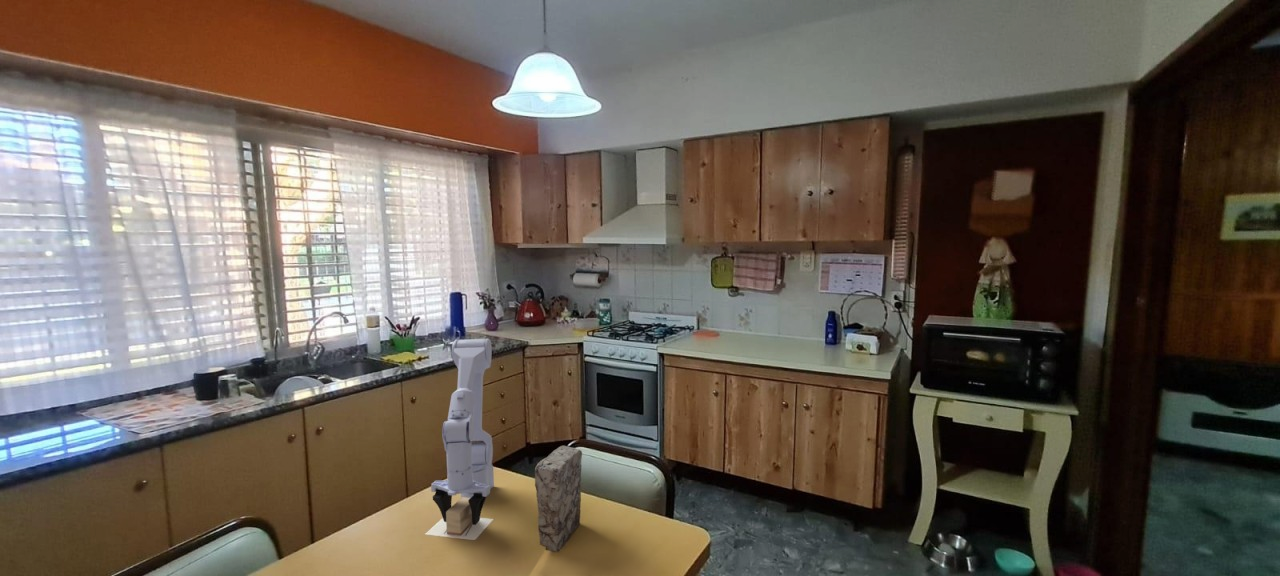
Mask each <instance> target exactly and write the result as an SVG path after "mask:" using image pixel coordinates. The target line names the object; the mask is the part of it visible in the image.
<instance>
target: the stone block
mask: <svg viewBox="0 0 1280 576" xmlns="http://www.w3.org/2000/svg"><path fill="white" fill-rule="evenodd" d="M582 457H583V452H582V450H581V449H579V448H576V447H571V446H567V445H560V446H559V447H557V448H556V449H554V450H553V451H552V452H551V453H549V454H548V456H547V457H545V458H543V459H541V460H540V461H539V462H537V465H536V466H535V469H534V476H535V477H534V487H535V491H536V492H535V493H536V501H537V502H536V503H537V508H538V509H537V510H538V518H537V520H538V521H537V522H538V533H539V545H541V546H545V547H546V548H545V550H546V551H550V552H554V553H557V552H560V551H561V550H562V549H563V547H564V546H565V545H566V544H567V543H568V541H569V540H570V538H571V537H572V535H573V534H574V533H575V531H576V530H577V529H578V528H579V526H581V522H580V521H581V520H580V519H581V505H582V503H581V501H582V498H581V497H582V495H581V494H582V492H581V490H582V483H581V482H582V459H583V458H582Z"/></svg>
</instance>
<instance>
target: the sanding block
mask: <svg viewBox="0 0 1280 576" xmlns="http://www.w3.org/2000/svg"><path fill="white" fill-rule="evenodd" d="M469 499H470V498H467V497H462V498H460V499H459V500H457V501H456V502H455V503H454V504H453V505H451V508H450V509H449V510H448V511H446V525H447V534H450V535H458V536H461V535H462V534H463V533H464V532H465V531H466V530H467V529H468V528H469V527H470V525H471V524H472V512H471V507H470V504H469V502H468V500H469Z"/></svg>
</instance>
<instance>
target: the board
mask: <svg viewBox="0 0 1280 576" xmlns="http://www.w3.org/2000/svg"><path fill="white" fill-rule="evenodd" d="M493 521H494V518H488V517H480V520H479V522H478V523H477V524H476V525H473V524H471V525H470V527H469V528H468V529H467V530H466V531H465V532H464V533H463V534H462V535H461V536H458V535H450V534H447V525H446V522H444V520H443V517H442V518H440V520H438V521H437V522H436V524H434V525H433V526H432V527H431V528H429V530H428V531H427V532H426V533H424V535H426V536H432V537H433V536H435V537H443V538H450V539H451V538H452V539H461V540H469V541H470V540H471V541H476V540H477V539H478V538H479V536H480V535H481V534H482V533H483V532H484V531H485V530H486V528H487V527H488V526H489V525H490V524H491V523H492V522H493Z"/></svg>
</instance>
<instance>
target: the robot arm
mask: <svg viewBox="0 0 1280 576" xmlns="http://www.w3.org/2000/svg"><path fill="white" fill-rule="evenodd" d="M451 345H452V346H451V357H452V360H453V362H454V365H455V366H456V367H457V369H458V371H457V388H456V390H455V391H453V392H452V393H451V397H450V403H449V409H448V414H447V420H445V421H444V422H443V423H442V429H441V430H442V432H441V434H442V435H441V436H442V443H443V446H444V447H443V448H444V452H446V454H445V455H446V471H447V472H446V474H447V475H446V476H447V480H445V479H443V480H436V479H435V480H434V482H432V483H430V484H431V485H430V486H431V487H430V489H431V490H430V491H431V492H433V493H434V492H435V493H434V495H432V501H434V503H435V504H436V505H437V507H438V509H439V511H440V515H441V516H442V518H443V520H444V522H446V511H448V510H449V509H450V508H451V507H452V497H454V496H457V495H460V497H461V498H462V497H467V498H470V499H469V500H468V502H469V504H470V507H471V512H472V524H473V525H476V524H477V523H478V522H479V520H480V518H481V513H482V509H483V508H484V504H485V501H486V500H487V497H488V496H489V495H490V493H491V489H492V488H494V487H495V483H494V482H495V480H494V479H495V478H494V473H495V472H494V465H493V464H492V463H493V462H492V461H493V459H494V458H493V456H494V446H493V437H492V435H491V434H489V432H487V431H486V430H484V429H483V397H484V395H483V394H484V375H485V371H486V370H487V369H489V368H491V367H492V366H491V365H492V354H493V353H492V341H491V339H490V338H487V337H486V338H477V339H476V338H475V339H473V338H472V339H454V341H453V342H452V344H451ZM461 498H460V499H461Z"/></svg>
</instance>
